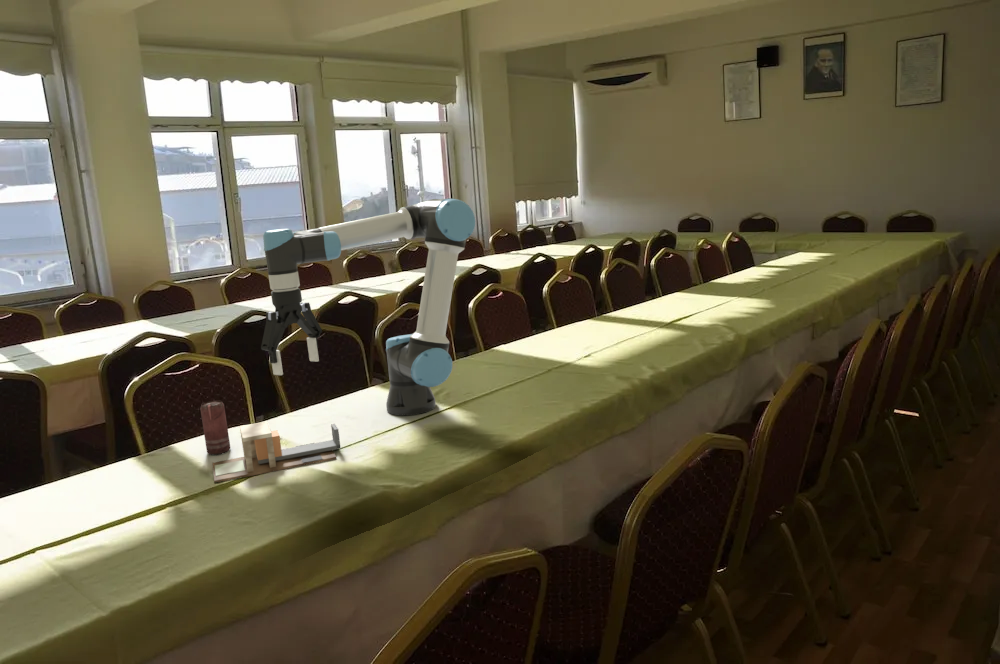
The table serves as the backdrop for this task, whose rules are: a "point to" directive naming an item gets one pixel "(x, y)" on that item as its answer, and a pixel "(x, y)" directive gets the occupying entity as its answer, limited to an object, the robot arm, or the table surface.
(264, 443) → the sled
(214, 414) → the can
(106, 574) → the table surface
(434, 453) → the table surface
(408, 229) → the robot arm
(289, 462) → the tunnel board
